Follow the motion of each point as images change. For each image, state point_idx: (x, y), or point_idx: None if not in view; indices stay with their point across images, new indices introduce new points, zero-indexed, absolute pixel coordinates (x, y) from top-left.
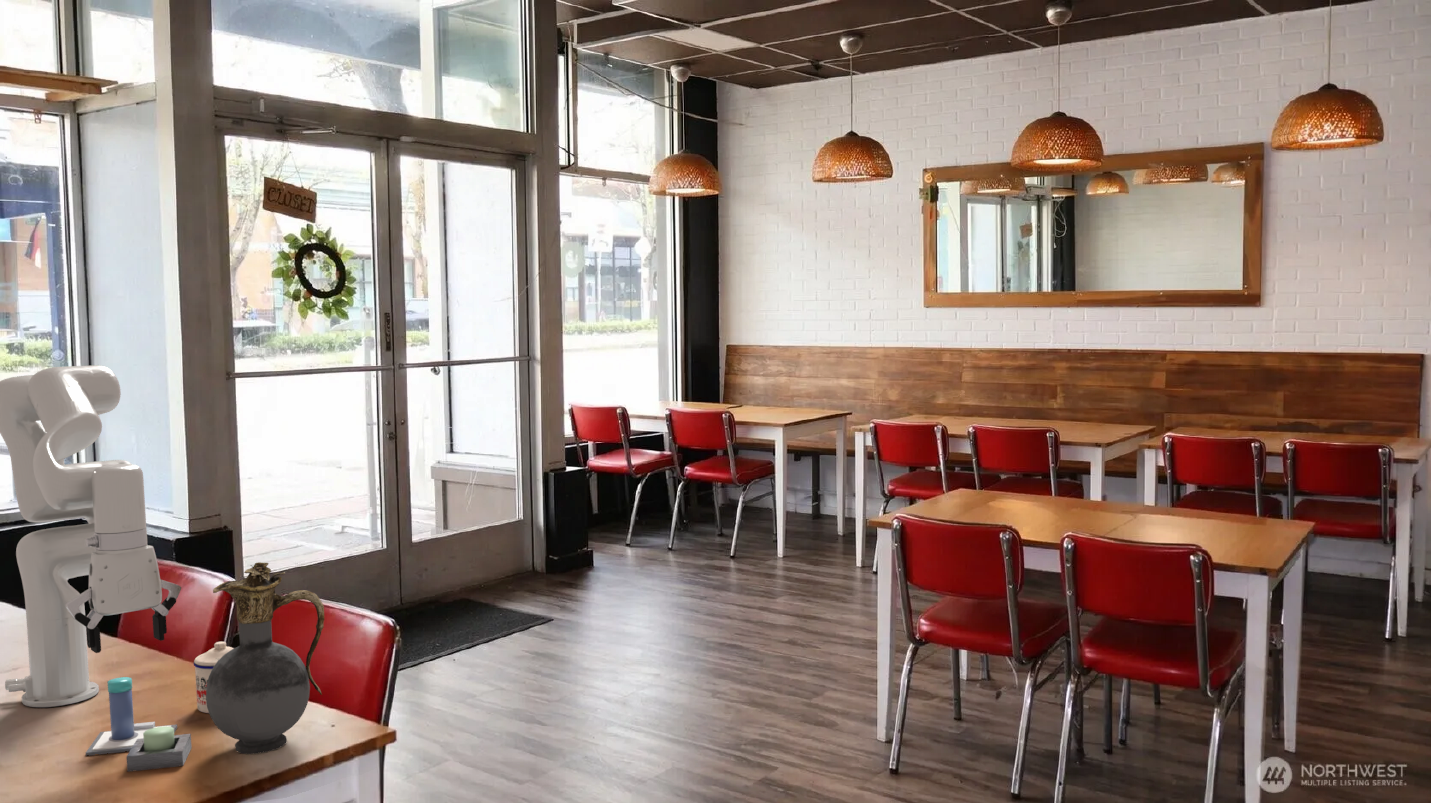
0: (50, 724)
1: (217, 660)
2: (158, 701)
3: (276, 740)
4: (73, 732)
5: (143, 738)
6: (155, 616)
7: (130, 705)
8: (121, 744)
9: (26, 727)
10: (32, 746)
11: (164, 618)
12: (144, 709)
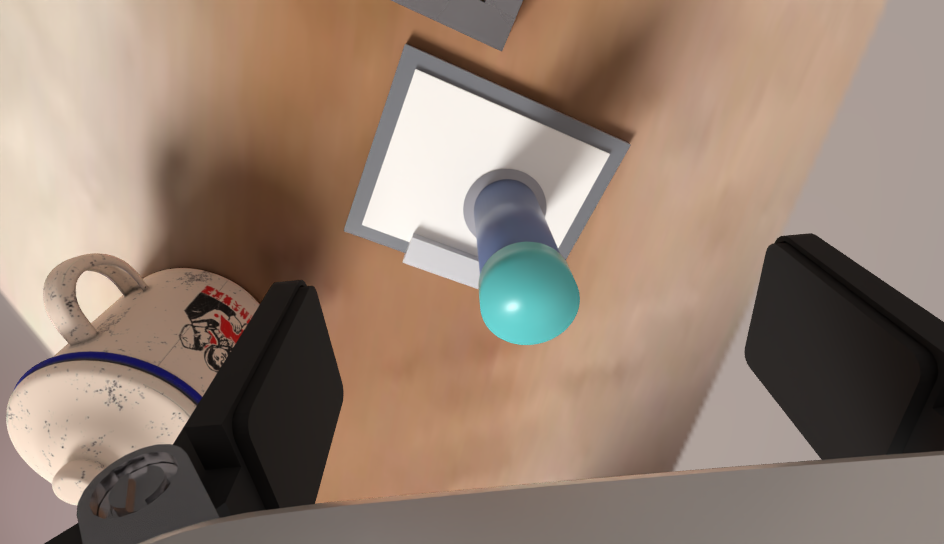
0: (609, 438)
1: (116, 391)
2: (360, 452)
3: None
4: (587, 357)
5: (482, 41)
6: (272, 498)
7: (491, 227)
8: (528, 140)
9: (655, 447)
10: (698, 316)
11: (188, 443)
12: (401, 418)
